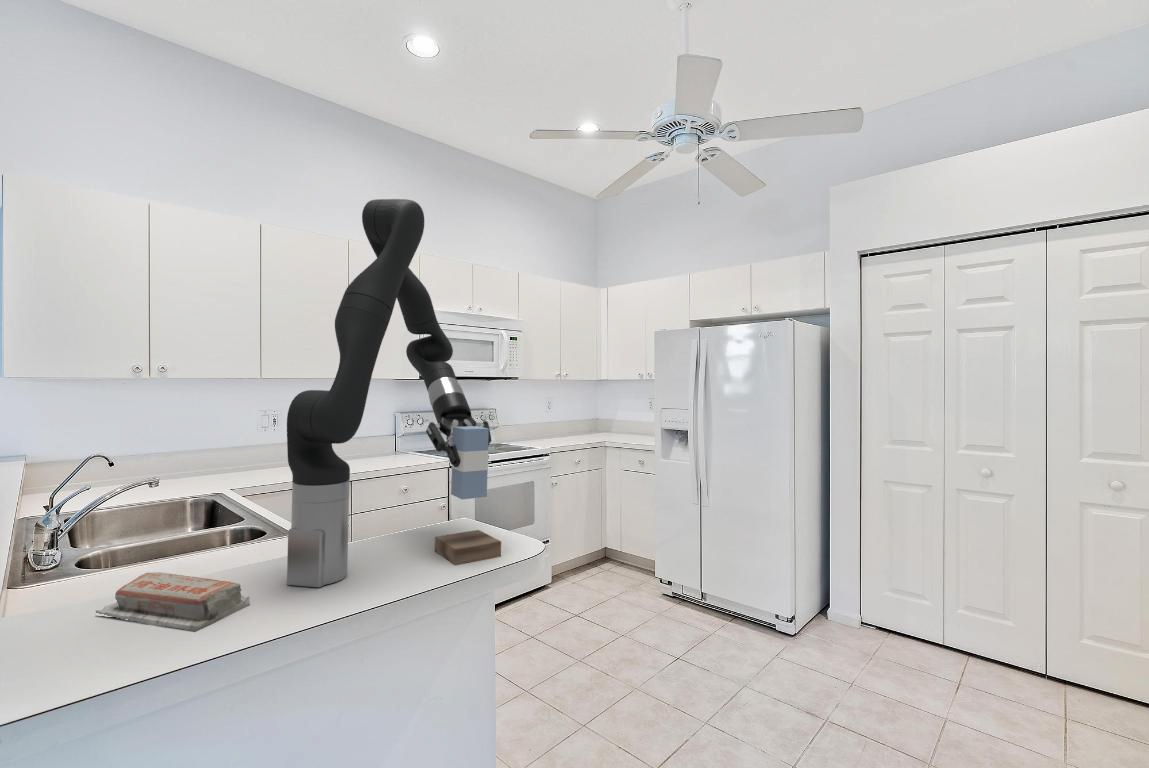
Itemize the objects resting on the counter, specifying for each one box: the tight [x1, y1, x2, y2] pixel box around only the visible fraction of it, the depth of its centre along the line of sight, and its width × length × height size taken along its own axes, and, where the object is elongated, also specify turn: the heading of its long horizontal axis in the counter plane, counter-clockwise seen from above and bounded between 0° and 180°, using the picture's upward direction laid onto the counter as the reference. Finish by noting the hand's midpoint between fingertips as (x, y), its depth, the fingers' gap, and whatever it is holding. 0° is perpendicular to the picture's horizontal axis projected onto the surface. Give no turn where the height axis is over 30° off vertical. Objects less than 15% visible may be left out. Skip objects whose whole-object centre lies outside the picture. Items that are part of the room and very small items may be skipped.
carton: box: [450, 426, 490, 500], centre depth 112 cm, size 6×6×14 cm
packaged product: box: [95, 571, 251, 632], centre depth 82 cm, size 18×5×10 cm
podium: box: [434, 529, 502, 566], centre depth 112 cm, size 10×10×3 cm
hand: (471, 463), depth 111 cm, fingers closed on carton, 5 cm apart
